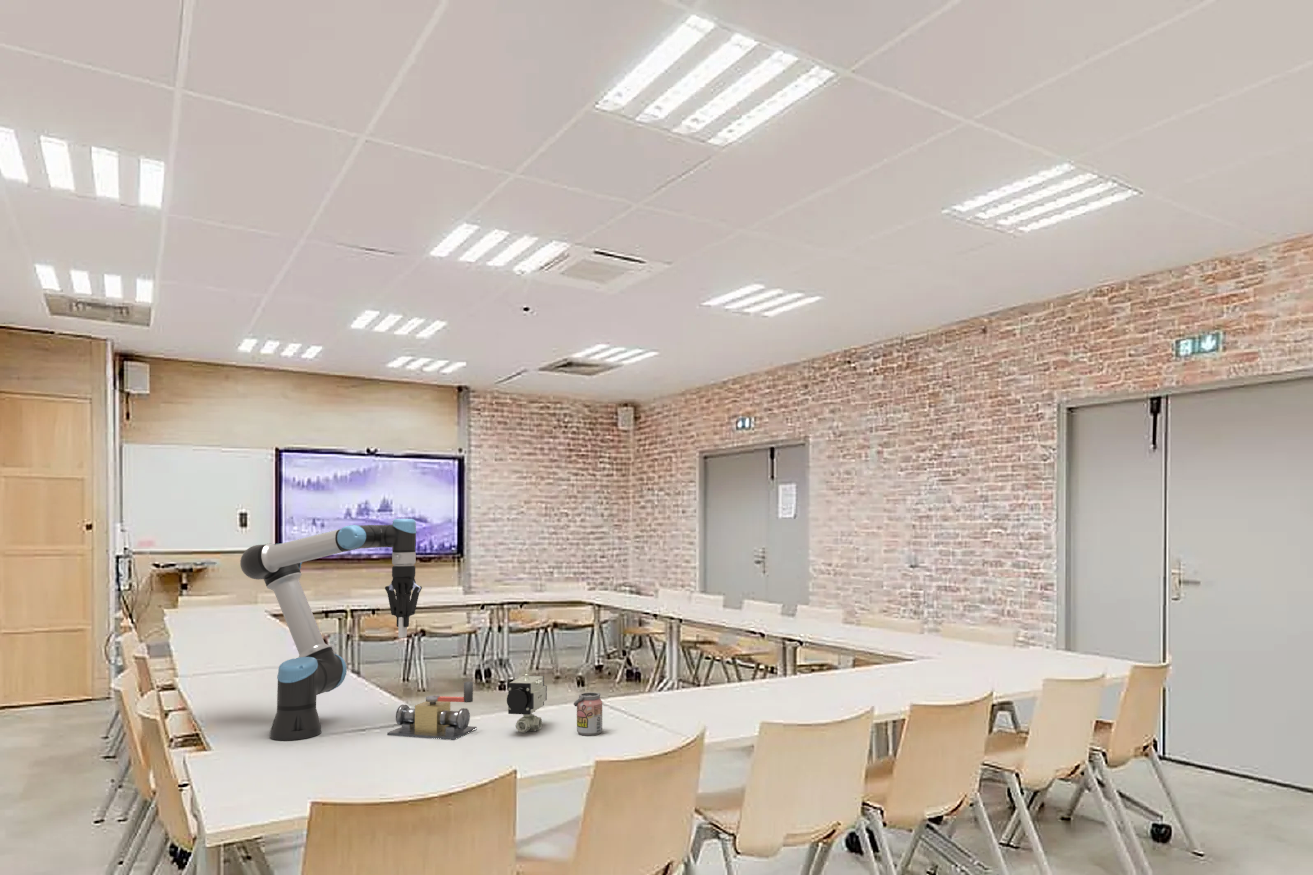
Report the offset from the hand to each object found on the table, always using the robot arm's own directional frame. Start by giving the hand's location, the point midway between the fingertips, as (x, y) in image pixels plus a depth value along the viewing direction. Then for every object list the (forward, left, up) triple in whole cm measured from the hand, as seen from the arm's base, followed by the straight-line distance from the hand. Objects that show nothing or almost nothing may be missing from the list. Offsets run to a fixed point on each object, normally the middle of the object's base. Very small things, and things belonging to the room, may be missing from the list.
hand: (402, 637), depth 282 cm
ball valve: (+42, +8, -30) cm, 52 cm away
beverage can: (+62, +10, -30) cm, 69 cm away
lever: (+19, -1, -20) cm, 27 cm away
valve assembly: (+13, -2, -29) cm, 32 cm away
